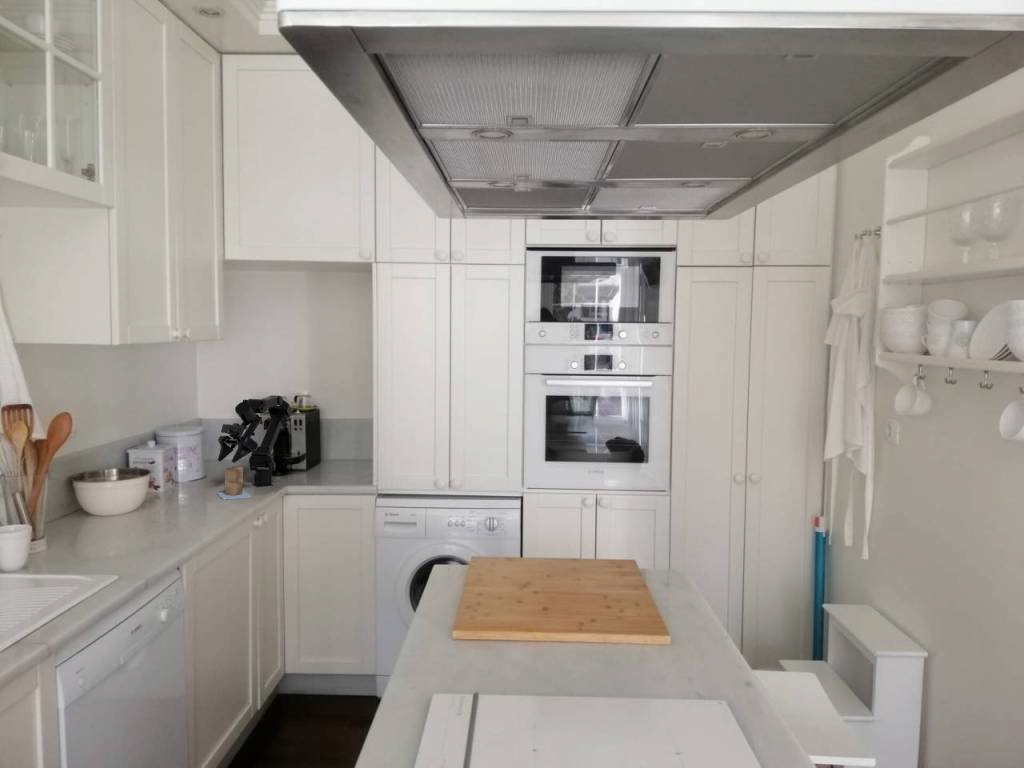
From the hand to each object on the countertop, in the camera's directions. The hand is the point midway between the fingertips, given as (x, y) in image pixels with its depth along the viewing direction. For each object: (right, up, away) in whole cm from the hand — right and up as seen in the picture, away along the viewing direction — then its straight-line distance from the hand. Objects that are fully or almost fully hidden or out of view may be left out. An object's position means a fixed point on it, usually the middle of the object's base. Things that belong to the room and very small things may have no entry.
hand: (225, 461), depth 269 cm
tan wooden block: (+3, -13, +1) cm, 13 cm away
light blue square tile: (+3, -13, +1) cm, 13 cm away
